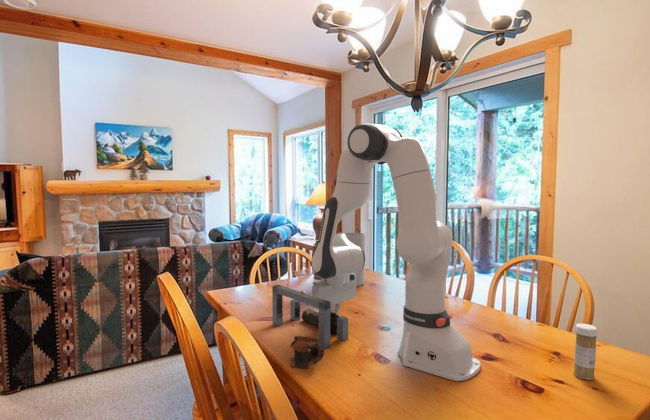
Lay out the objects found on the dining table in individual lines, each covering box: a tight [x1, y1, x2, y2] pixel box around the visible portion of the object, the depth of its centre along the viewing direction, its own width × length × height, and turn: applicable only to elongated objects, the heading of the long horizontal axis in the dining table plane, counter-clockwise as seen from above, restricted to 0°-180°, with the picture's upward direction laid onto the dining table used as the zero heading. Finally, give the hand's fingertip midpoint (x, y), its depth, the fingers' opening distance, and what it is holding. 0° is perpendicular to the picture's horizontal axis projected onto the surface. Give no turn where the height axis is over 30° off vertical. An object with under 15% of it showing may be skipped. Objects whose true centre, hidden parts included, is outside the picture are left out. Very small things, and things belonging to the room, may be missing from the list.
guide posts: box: [289, 299, 349, 342], centre depth 127 cm, size 26×2×7 cm, turn 44°
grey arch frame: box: [271, 284, 331, 350], centre depth 122 cm, size 26×3×14 cm, turn 44°
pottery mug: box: [289, 335, 325, 370], centre depth 103 cm, size 12×10×8 cm
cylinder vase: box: [343, 232, 366, 287], centre depth 185 cm, size 12×12×25 cm
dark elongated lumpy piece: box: [301, 308, 340, 334], centre depth 129 cm, size 18×7×6 cm, turn 40°
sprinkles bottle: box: [573, 323, 598, 381], centre depth 96 cm, size 5×5×14 cm
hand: (334, 315), depth 133 cm, fingers closed
